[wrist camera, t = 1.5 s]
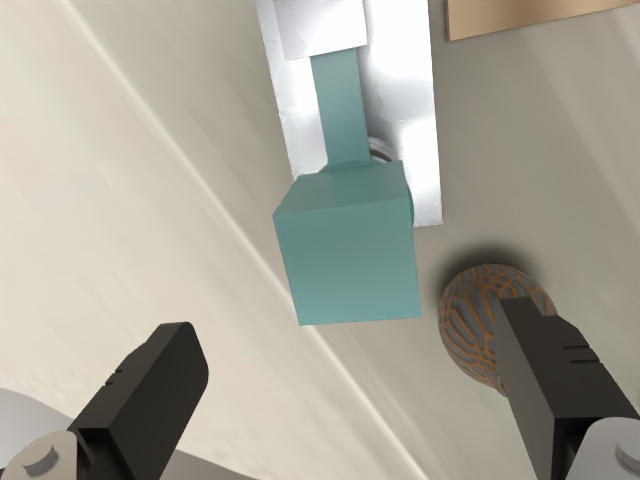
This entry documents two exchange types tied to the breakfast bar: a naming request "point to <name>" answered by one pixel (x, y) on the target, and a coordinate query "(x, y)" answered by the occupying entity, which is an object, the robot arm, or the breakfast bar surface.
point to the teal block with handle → (348, 216)
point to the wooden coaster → (514, 13)
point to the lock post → (375, 79)
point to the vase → (482, 316)
